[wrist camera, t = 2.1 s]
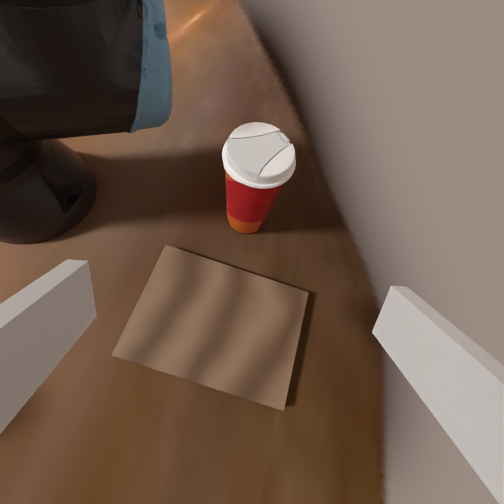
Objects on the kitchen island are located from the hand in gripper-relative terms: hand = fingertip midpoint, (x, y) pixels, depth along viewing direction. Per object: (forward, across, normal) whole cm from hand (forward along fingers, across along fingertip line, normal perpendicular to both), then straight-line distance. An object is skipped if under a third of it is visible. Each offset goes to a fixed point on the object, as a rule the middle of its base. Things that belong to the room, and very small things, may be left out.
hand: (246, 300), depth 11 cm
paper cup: (+27, +1, -4) cm, 27 cm away
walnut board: (+16, -1, -14) cm, 21 cm away
